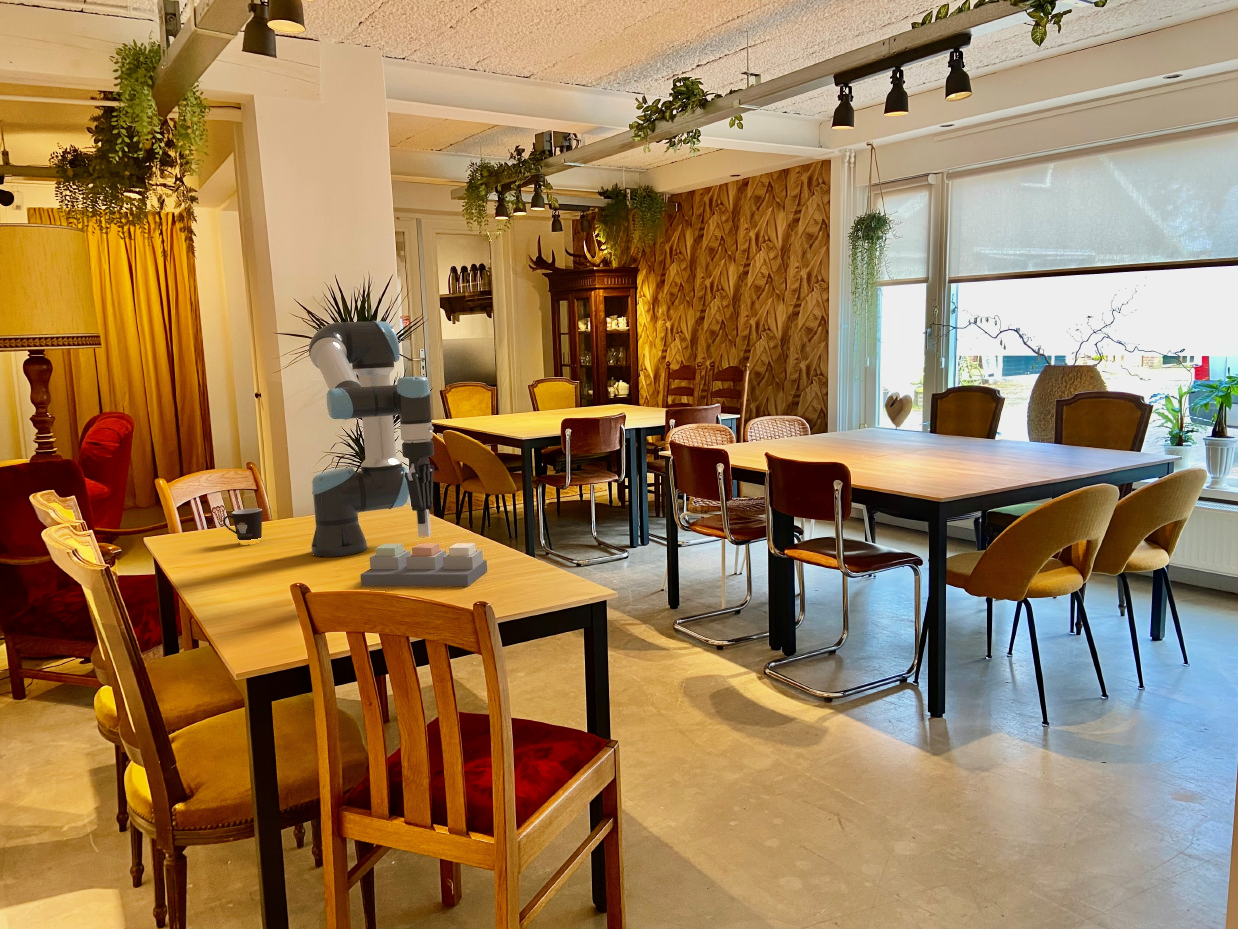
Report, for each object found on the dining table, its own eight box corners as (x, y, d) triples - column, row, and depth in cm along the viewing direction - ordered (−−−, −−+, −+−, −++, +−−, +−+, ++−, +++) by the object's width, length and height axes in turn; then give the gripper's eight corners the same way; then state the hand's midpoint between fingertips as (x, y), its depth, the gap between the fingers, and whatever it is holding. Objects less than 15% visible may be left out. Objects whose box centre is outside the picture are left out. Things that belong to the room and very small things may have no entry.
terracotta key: (412, 560, 217) (411, 548, 216) (420, 555, 221) (420, 543, 221) (432, 560, 216) (431, 547, 215) (439, 555, 221) (438, 543, 220)
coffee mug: (271, 541, 273) (268, 509, 272) (246, 547, 266) (243, 514, 264) (248, 538, 279) (244, 507, 278) (223, 544, 272) (219, 512, 271)
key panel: (361, 586, 213) (359, 562, 213) (386, 571, 227) (384, 548, 226) (468, 586, 208) (466, 561, 208) (487, 571, 222) (485, 548, 221)
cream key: (449, 560, 215) (448, 547, 214) (457, 555, 220) (456, 543, 219) (469, 560, 214) (468, 547, 214) (476, 555, 219) (475, 543, 218)
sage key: (376, 560, 218) (375, 548, 218) (385, 556, 223) (384, 543, 223) (395, 560, 217) (394, 548, 217) (404, 556, 222) (403, 543, 222)
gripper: (421, 443, 208) (429, 541, 211) (442, 437, 220) (448, 530, 224) (391, 444, 209) (399, 542, 212) (413, 438, 222) (420, 530, 225)
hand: (424, 535), depth 218 cm, fingers closed
